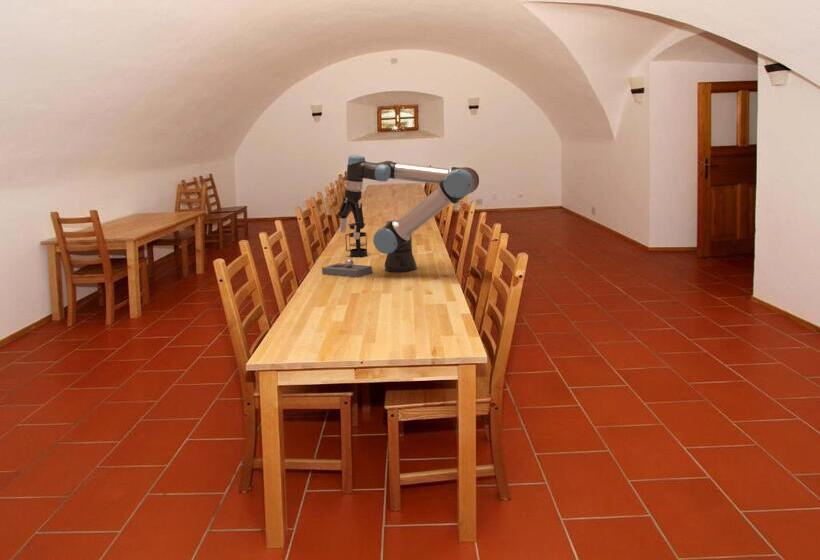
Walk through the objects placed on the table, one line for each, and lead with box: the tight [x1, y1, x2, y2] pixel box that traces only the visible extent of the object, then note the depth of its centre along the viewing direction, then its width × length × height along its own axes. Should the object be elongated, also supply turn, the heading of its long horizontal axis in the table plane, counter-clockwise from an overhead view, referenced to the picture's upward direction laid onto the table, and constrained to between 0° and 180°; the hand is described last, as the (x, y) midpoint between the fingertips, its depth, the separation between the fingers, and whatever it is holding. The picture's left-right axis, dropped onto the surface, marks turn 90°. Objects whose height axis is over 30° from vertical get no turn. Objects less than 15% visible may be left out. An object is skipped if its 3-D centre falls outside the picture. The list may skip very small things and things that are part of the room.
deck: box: [321, 262, 373, 278], centre depth 341 cm, size 20×12×3 cm, turn 57°
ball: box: [344, 258, 354, 267], centre depth 340 cm, size 4×4×4 cm
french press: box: [344, 212, 369, 258], centre depth 382 cm, size 12×9×23 cm
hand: (349, 235), depth 337 cm, fingers open, 13 cm apart
